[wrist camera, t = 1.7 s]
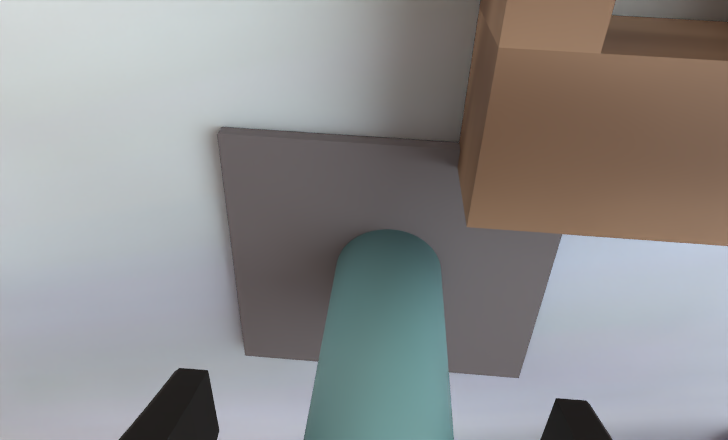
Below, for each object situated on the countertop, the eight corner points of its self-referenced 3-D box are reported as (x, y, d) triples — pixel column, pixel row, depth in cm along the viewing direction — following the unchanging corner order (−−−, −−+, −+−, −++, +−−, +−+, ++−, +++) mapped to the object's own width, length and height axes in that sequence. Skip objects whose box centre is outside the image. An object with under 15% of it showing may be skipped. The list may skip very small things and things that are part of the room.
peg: (434, 315, 16) (456, 708, 9) (335, 307, 16) (271, 688, 9) (447, 233, 14) (487, 633, 7) (336, 225, 14) (257, 609, 7)
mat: (516, 368, 18) (518, 377, 17) (247, 346, 18) (245, 355, 18) (580, 150, 13) (584, 158, 13) (222, 127, 14) (217, 134, 13)
